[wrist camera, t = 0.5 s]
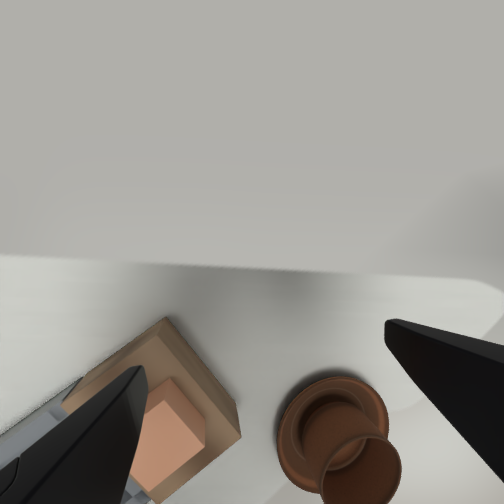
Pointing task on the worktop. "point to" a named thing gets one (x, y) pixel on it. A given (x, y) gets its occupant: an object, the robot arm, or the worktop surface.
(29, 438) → the box
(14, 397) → the worktop surface
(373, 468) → the cup and saucer
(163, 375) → the tan wooden board
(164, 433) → the tile
